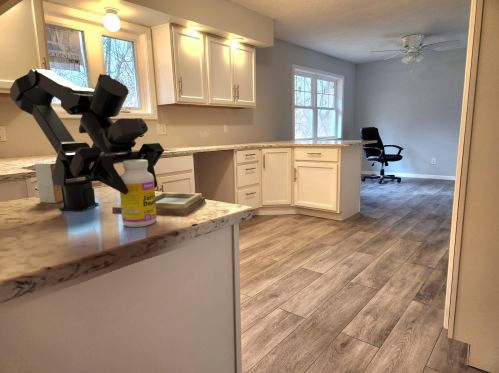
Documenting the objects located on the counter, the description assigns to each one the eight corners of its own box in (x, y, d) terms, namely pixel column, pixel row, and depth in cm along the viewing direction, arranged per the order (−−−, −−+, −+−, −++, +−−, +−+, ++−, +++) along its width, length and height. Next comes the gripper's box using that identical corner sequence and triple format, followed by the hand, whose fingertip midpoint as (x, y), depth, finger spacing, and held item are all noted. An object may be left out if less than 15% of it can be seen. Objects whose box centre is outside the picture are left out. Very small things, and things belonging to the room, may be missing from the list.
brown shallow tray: (112, 212, 74) (111, 202, 73) (142, 199, 86) (141, 190, 86) (184, 215, 70) (184, 205, 70) (205, 201, 82) (204, 192, 82)
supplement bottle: (146, 228, 61) (141, 162, 59) (116, 227, 63) (109, 162, 60) (162, 218, 68) (158, 159, 65) (134, 217, 69) (129, 158, 67)
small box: (55, 203, 83) (49, 163, 81) (39, 202, 85) (33, 163, 83) (80, 197, 91) (75, 160, 89) (65, 196, 92) (60, 160, 90)
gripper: (69, 102, 55) (113, 168, 51) (155, 106, 70) (194, 158, 66) (53, 146, 61) (92, 209, 57) (136, 141, 76) (170, 191, 72)
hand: (141, 189), depth 63 cm, fingers closed on supplement bottle, 7 cm apart
